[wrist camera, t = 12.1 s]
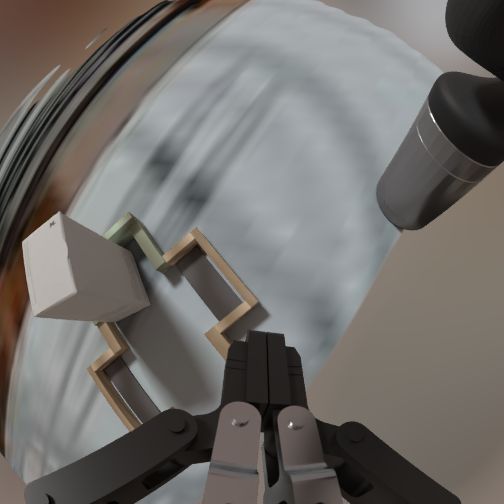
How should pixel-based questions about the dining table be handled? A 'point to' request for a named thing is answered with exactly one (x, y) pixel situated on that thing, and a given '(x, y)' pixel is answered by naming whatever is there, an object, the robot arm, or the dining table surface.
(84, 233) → the skincare box
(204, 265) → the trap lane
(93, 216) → the dining table surface
